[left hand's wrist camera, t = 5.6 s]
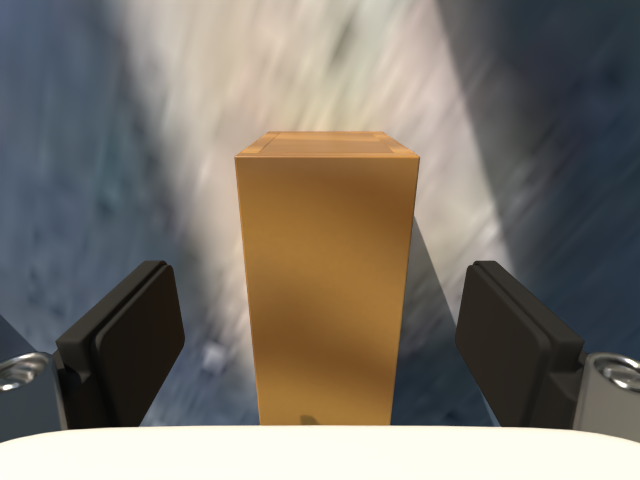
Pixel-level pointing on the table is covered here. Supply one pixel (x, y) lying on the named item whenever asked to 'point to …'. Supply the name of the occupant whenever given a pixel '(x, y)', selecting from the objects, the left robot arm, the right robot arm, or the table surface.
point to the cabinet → (326, 272)
